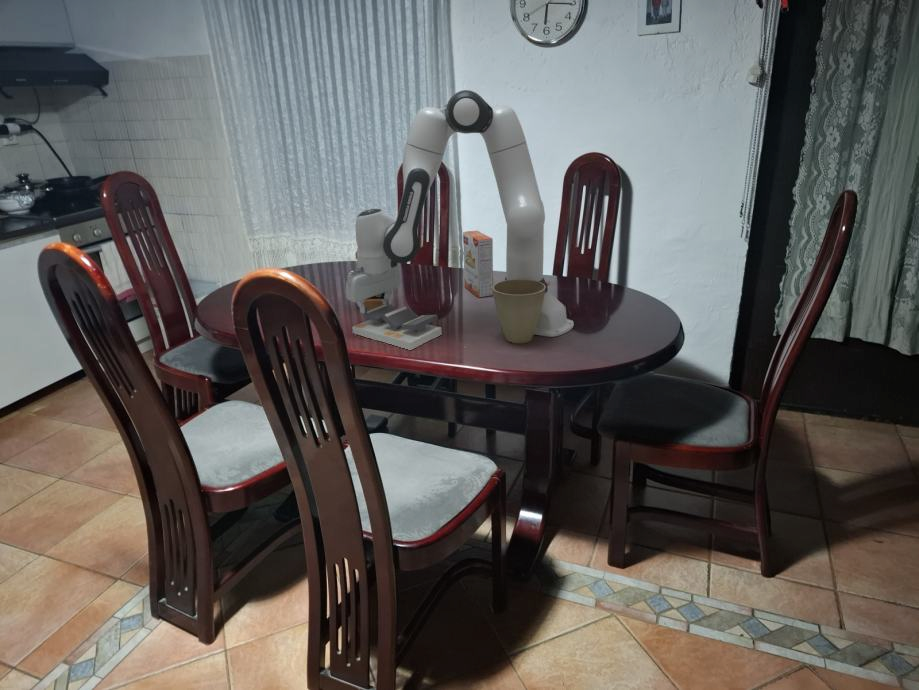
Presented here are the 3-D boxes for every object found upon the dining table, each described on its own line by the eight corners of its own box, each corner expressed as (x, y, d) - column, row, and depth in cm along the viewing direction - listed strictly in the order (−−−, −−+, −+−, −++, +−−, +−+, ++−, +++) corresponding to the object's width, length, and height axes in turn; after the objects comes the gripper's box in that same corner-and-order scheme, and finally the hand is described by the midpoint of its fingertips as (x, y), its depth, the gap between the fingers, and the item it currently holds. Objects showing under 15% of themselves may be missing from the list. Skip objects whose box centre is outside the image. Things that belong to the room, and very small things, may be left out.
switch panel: (441, 335, 184) (441, 323, 183) (410, 350, 174) (410, 338, 173) (384, 321, 197) (384, 310, 196) (353, 334, 187) (351, 323, 186)
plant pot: (501, 327, 189) (501, 277, 183) (549, 333, 184) (551, 281, 178) (485, 345, 176) (485, 291, 170) (536, 351, 171) (537, 296, 165)
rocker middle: (417, 320, 188) (418, 316, 188) (394, 329, 181) (396, 326, 180) (404, 308, 190) (405, 305, 189) (381, 318, 183) (383, 314, 182)
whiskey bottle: (389, 311, 206) (382, 214, 194) (359, 312, 206) (350, 215, 194) (391, 301, 216) (385, 208, 204) (363, 302, 216) (355, 209, 204)
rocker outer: (399, 313, 192) (400, 309, 191) (377, 323, 185) (377, 318, 184) (386, 307, 195) (386, 303, 194) (363, 316, 187) (363, 312, 187)
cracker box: (463, 287, 228) (462, 231, 220) (478, 285, 230) (477, 229, 222) (477, 298, 216) (476, 239, 208) (493, 296, 218) (493, 237, 210)
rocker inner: (438, 319, 183) (437, 314, 183) (416, 329, 176) (415, 324, 175) (423, 319, 187) (422, 314, 186) (401, 329, 179) (400, 324, 179)
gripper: (354, 273, 176) (357, 319, 181) (403, 259, 191) (404, 302, 196) (339, 270, 179) (342, 315, 184) (388, 256, 194) (389, 298, 200)
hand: (375, 308), depth 190 cm, fingers open, 8 cm apart
